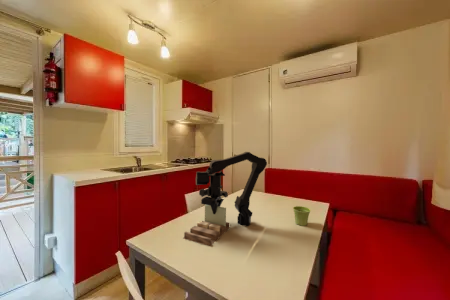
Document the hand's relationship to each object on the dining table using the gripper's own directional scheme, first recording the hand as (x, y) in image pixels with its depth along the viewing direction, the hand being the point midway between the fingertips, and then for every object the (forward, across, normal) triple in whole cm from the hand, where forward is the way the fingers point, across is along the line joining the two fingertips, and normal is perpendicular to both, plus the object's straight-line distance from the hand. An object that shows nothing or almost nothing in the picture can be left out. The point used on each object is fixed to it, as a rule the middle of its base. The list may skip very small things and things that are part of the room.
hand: (215, 213), depth 99 cm
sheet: (+6, 0, 0) cm, 6 cm away
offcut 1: (+7, +7, -3) cm, 11 cm away
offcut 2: (+7, +7, +4) cm, 11 cm away
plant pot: (+8, -28, +41) cm, 50 cm away
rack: (+8, +7, 0) cm, 11 cm away
